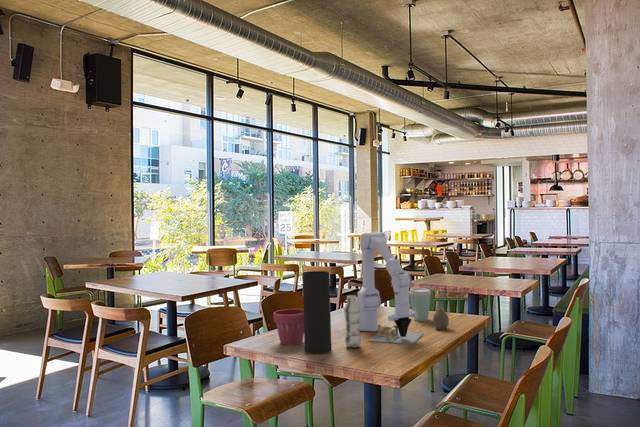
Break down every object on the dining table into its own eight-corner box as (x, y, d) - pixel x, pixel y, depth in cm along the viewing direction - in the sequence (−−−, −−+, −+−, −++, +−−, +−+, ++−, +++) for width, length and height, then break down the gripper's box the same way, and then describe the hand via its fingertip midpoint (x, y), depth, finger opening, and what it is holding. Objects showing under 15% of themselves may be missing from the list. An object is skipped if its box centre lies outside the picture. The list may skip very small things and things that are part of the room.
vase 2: (449, 330, 233) (448, 310, 233) (433, 330, 235) (432, 310, 235) (448, 327, 240) (448, 307, 240) (433, 327, 242) (432, 307, 242)
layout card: (369, 341, 218) (369, 340, 218) (382, 331, 235) (382, 330, 235) (412, 344, 211) (412, 343, 211) (423, 334, 228) (423, 332, 228)
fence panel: (393, 335, 225) (393, 326, 225) (396, 335, 224) (396, 326, 224) (385, 340, 217) (385, 330, 217) (388, 340, 216) (388, 331, 216)
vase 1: (310, 355, 199) (308, 274, 199) (300, 349, 208) (298, 272, 208) (335, 351, 203) (333, 272, 203) (324, 346, 212) (322, 270, 212)
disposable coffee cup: (435, 318, 260) (434, 287, 260) (427, 322, 251) (426, 290, 251) (414, 317, 266) (413, 286, 266) (406, 321, 257) (405, 289, 257)
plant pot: (269, 341, 224) (268, 310, 224) (301, 337, 230) (300, 307, 230) (280, 348, 211) (279, 315, 211) (313, 344, 217) (312, 312, 217)
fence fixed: (377, 335, 228) (377, 324, 228) (378, 334, 229) (378, 324, 229) (397, 337, 224) (396, 326, 224) (398, 336, 226) (397, 325, 226)
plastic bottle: (350, 350, 205) (348, 297, 205) (341, 346, 211) (340, 295, 211) (364, 347, 208) (363, 296, 208) (355, 344, 214) (354, 294, 214)
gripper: (396, 306, 211) (397, 341, 211) (421, 302, 220) (422, 335, 220) (384, 304, 217) (385, 338, 217) (409, 300, 226) (409, 332, 226)
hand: (403, 336), depth 219 cm, fingers closed
